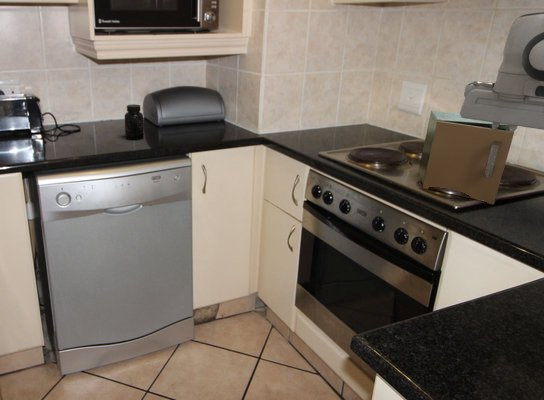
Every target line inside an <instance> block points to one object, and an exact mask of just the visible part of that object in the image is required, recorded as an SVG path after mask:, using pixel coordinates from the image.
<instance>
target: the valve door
mask: <svg viewBox="0 0 544 400" xmlns="http://www.w3.org/2000/svg"><path fill="white" fill-rule="evenodd" d="M514 136H515V131H514V132H511V130H510V131H505V130H498V129H491V128H484V127H478V126H471V125H464V124H457V123H450V122H444V121H437V125H436V129H435V134H434V139H433V143H432V148H431V152H430V157H429V161H428V166H427V171H426V175H425V180H424V184H423V186H422V189H424V190H428V188H429V187H440V188H447V189H453V190H457V191H460V192H463V193H465V194H467V195H469V196H470V197H471V198H475V199H479V200H484V201H486V202H487V203H486V204H489V205H495V203H496V198H497V195H498V191H499V188H500V185H501V180H502V177H503V173H504V170H505V167H506V164H507V161H508V160H507V159H508V156H509V152H510V150H511V145H512V142H513V138H514Z"/></svg>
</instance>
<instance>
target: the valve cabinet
mask: <svg viewBox="0 0 544 400" xmlns="http://www.w3.org/2000/svg"><path fill="white" fill-rule="evenodd" d="M437 121H444V122H450V123H457V124H464V125H471V126H478V127H484V128H491V129H492V123H493V122H487V121H480V120H473V119H466V118H462V117H461V115H460V112H451V111H440V110H430V114H429V119H428V124H427V129H426V133H425V138H424V143H423V148H422V152H421V157H420V162H419V167H418V171H417V176H418V178H419V180H420V183H421V182H422V184H421V186H422V187H423V184H424V180H425V175H426V171H427V166H428V161H429V157H430V152H431V148H432V143H433V139H434V134H435V129H436V125H437ZM509 127H510V125H507V124H500V126H499V127H497V128H498V130H505V131H511V130H512V129H509Z"/></svg>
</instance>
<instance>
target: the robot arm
mask: <svg viewBox="0 0 544 400" xmlns="http://www.w3.org/2000/svg"><path fill="white" fill-rule="evenodd" d="M463 96H464V100H463V103H462V106H461V108H460V111H459V113H460V115H461V117H462V118H466V119H473V120H480V121H487V122H493V123H492V129H498V128H497V127H499V126H500V124H507V125H510V127H509V129H511V130H510V131H511V132H514V133H515V132H516V130H517V129H518V127H522V128H529V129H536V130H543V131H544V11H542V12H541V11H540V12H531V13H526V14H521V15H520V16H518V17H517V18H515V20H514V21H513V23H512V24H511V26H510V28H509V31H508V33H507V36H506V39H505V43H504V45H503V50H502V61H501V63H500V65H499V67H498V69H497V72H496V76H495V80H494V82H488V81H480V80H475V81H473V82H470V83H468V84H467V85H466V86H465V88H464V92H463Z"/></svg>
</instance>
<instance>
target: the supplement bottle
mask: <svg viewBox="0 0 544 400" xmlns="http://www.w3.org/2000/svg"><path fill="white" fill-rule="evenodd" d="M141 111H142V110H141V105H140V104H127V105H126V112H125V114H124V117H123V118H124V137H125V139H126V140H129V141H140V140H143V139H144V136H145V135H144V134H145V132H144V129H145V128H144V127H145V126H144V124H145V123H144V114H143V113H142V112H141Z"/></svg>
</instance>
